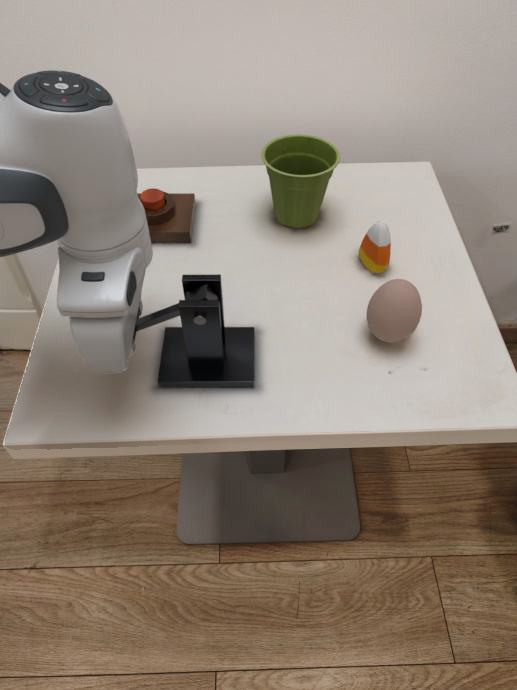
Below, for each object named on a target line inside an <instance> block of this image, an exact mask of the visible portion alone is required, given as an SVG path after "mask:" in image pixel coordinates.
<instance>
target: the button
mask: <svg viewBox="0 0 517 690" xmlns="http://www.w3.org/2000/svg"><path fill="white" fill-rule="evenodd" d="M162 191H163V190H161V189H159V188H154V187H153V188H148V189H145V190H143V191H142V192H140V193H141V195H140V197H141V202H142V205H143V207H144V209H145V210H147V211H156V210H159V209H162V208H163V207H164V205H165V200H164V194H163V192H164V191H163V192H162Z"/></svg>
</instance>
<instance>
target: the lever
mask: <svg viewBox="0 0 517 690" xmlns="http://www.w3.org/2000/svg"><path fill="white" fill-rule="evenodd" d="M217 299H218V297H217V295H216V294H215V293H214V292H213V291H212V289H211V288H210V287H209V286H208V285H207V284H205V285H203V286H200V287H198V288H195V289H192V290H190V291H187V292H186V300H217ZM177 317H180V312H179V302H178V303H175V304H172V305H170V306H168V307H165V308H161V309H160V310H159V309H158V310H156V311H154V312H151V313H149V314H147V315H144V316H140V311H139V310H138V313H137V318H136V323H135V329H134V334H133V338H134V341H135V342H136V339H137V333H138V332H139V331H143V330H145V329H148V328H150V327H153V326H155V325H158V324H162V323H164V322H167V321H169V320H172V319H175V318H177Z"/></svg>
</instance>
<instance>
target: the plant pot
mask: <svg viewBox="0 0 517 690" xmlns="http://www.w3.org/2000/svg"><path fill="white" fill-rule="evenodd" d="M261 160H262V162H263V164H264V165H265V170H266V173H267V176H268V178H269V179H268V180H269V187H270V194H271V199H272V205H273V212H274V218H275V219H276V221H277V222H278V223H279V224H281V225H282V226H287V227H291V228H293V229H304V228H308V227H310V226H312V225H314V224H315V223H316V221H317V219H318V218H319V215H320V213H321V208H322V206H323V203H324V199H325V195H326V193H327V189H328V185H329V183H330V179H331V178H332V176H333V174H334V171H335V169H336V168H337V167H338V166H339V163H340V162H341V153H340V151H339V149H338V147H336V145H335V144H333V143H331V142H330V141H328V140H326V139H324V138H322V137H320V136H319V137H318V136H315V135H310V134H302V133H301V134H300V133H298V134H297V133H296V134H287V135H282V136H277V137H276V138H274V139H272V140H270V141H268V142H267V143H266V144H265V145H264V147H262V150H261Z"/></svg>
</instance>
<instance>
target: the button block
mask: <svg viewBox="0 0 517 690" xmlns="http://www.w3.org/2000/svg"><path fill="white" fill-rule="evenodd" d="M161 191H162V192H163V194H164V200H165V205H164V207H163V208H162V209H159V210H156V211H147V210H145V209H144V210H145V214H146V219H147V224H148V229H149V234H150V239H151V244H191V243H192V239H193V231H194V222H195V214H196V206H197V203H196V195H195V192H194V193H192V192H191V193H189V192H188V193H185V192H184V193H180V192H179V193H173V192H171V193H169V192H166V191H163V190H161ZM141 193H142V192H139V193H138V192H137V195H138V198H139V200H140V201H141V197H140V195H141ZM141 203H142V202H141Z"/></svg>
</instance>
